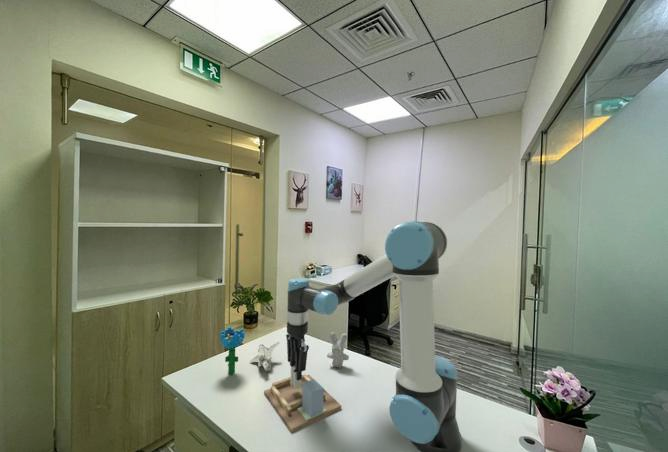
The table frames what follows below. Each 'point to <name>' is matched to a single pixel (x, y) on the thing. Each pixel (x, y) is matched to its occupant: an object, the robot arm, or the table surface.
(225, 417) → the table surface
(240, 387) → the table surface
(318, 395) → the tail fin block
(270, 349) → the toy spacecraft
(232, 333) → the toy flower
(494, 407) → the table surface
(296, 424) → the jig
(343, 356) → the bunny figurine
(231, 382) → the table surface
